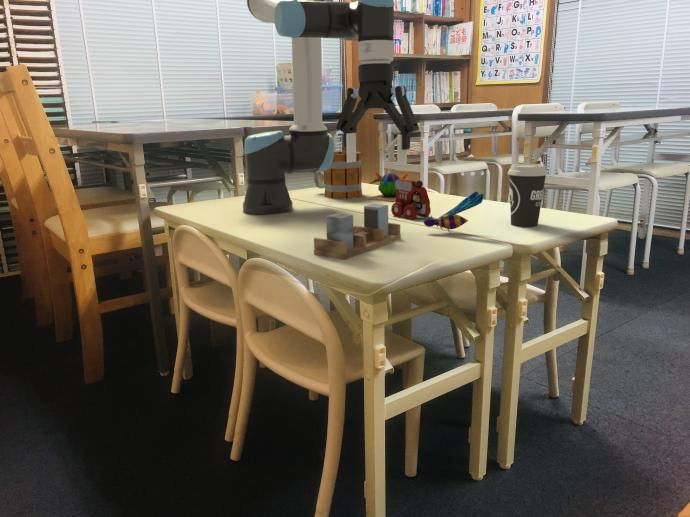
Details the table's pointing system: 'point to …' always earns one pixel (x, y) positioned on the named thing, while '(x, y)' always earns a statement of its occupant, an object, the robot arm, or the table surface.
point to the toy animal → (387, 187)
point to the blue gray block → (376, 217)
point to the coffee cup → (526, 193)
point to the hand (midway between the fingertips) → (375, 163)
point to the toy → (455, 213)
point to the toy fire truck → (411, 199)
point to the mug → (342, 177)
